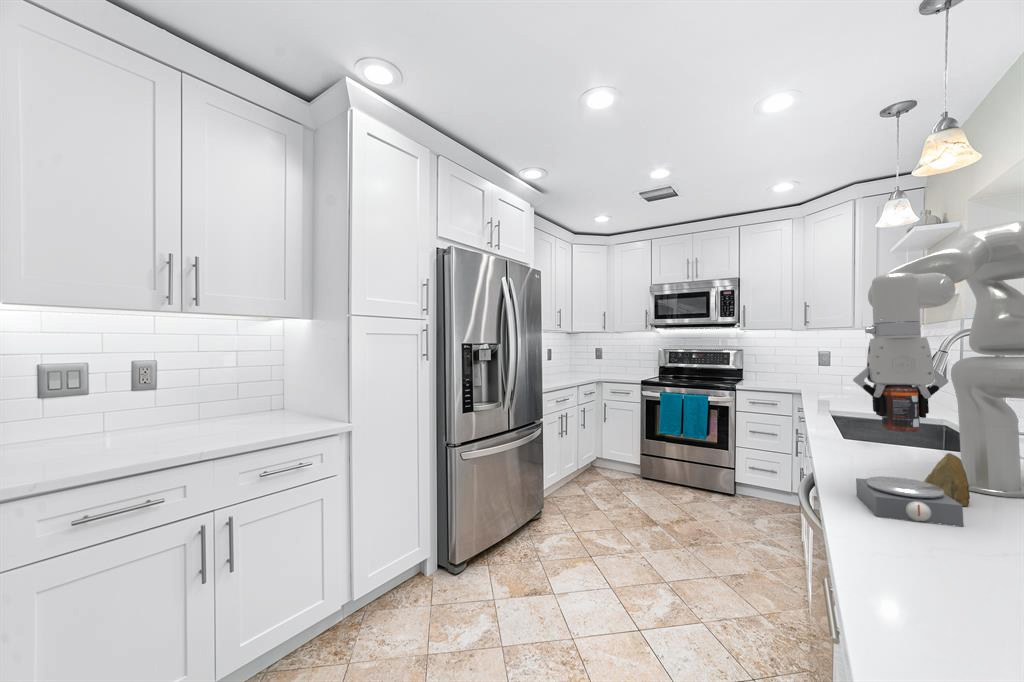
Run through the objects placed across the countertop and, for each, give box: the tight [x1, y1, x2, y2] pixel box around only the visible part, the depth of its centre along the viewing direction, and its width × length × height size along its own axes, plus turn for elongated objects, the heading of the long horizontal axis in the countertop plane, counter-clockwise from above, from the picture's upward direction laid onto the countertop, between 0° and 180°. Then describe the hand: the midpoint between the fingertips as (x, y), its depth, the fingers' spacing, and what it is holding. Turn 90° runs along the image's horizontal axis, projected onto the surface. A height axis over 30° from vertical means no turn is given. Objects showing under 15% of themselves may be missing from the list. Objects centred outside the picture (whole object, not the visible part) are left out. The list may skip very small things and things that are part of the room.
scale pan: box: [866, 476, 944, 498], centre depth 91 cm, size 12×12×1 cm
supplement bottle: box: [881, 385, 921, 433], centre depth 91 cm, size 6×6×11 cm
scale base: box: [855, 477, 964, 528], centre depth 90 cm, size 14×13×4 cm
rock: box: [923, 452, 971, 507], centre depth 97 cm, size 11×9×10 cm
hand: (900, 415), depth 91 cm, fingers closed on supplement bottle, 6 cm apart
